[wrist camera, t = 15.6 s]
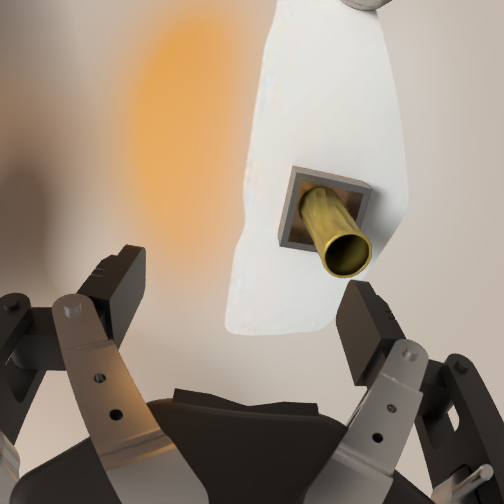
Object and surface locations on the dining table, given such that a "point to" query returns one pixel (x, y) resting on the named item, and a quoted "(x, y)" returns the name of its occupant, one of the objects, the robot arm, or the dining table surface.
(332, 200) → the vase
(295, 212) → the square grey tray
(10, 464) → the robot arm
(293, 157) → the dining table surface
